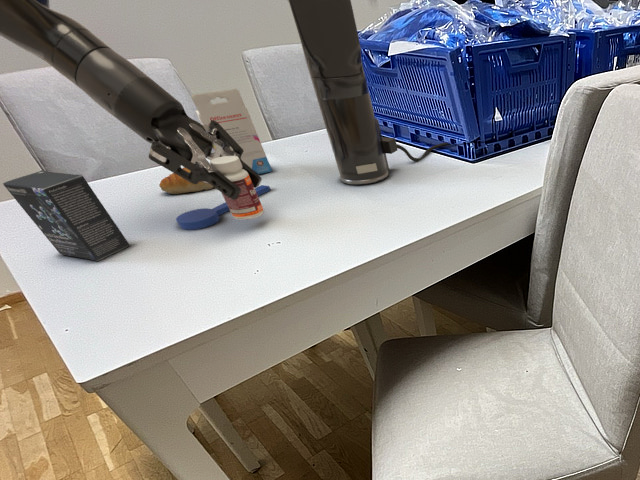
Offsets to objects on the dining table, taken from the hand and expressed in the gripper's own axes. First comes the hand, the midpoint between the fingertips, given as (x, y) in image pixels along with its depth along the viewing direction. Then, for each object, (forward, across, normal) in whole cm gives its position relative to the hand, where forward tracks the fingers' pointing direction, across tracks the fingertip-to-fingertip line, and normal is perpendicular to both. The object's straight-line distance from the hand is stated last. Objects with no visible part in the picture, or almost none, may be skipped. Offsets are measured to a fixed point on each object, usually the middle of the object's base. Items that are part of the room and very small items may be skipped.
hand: (248, 188), depth 70 cm
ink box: (-9, +24, +17) cm, 31 cm away
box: (-10, -12, +19) cm, 25 cm away
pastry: (-13, +15, +22) cm, 29 cm away
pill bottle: (+2, 0, +4) cm, 5 cm away
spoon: (-3, +6, +12) cm, 14 cm away
